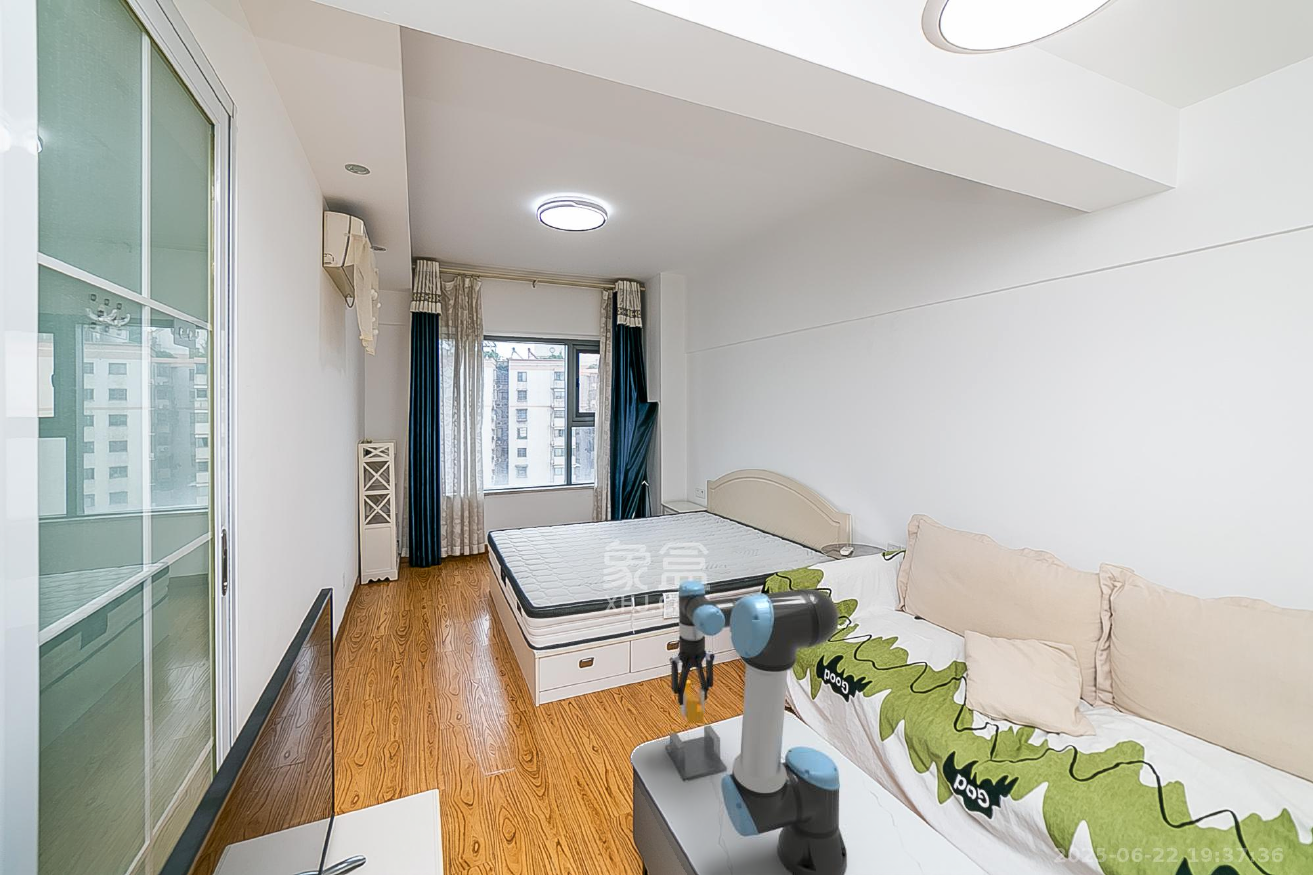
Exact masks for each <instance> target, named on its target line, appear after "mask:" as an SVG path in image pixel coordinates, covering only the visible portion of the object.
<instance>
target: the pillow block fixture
mask: <svg viewBox="0 0 1313 875" xmlns="http://www.w3.org/2000/svg"><path fill="white" fill-rule="evenodd" d="M703 727H704V728H703V732H704V733H703V736H700V737H695V738H691V739H687V740H683V741H682V739H681V738H680V737H679V735H678V733H677V732H673V733H669V744H665V746H664V749H665V750H666V753H667V754H668V756H669V757H670V760H671V761H672V763H673V764H674V767H675V768H676V769H677V771H678V773H679V775H680V777H681V778H682V780H683V782H687V781H692V780H695V779H699V778H703V777H707V776H712V775H716V774H720V773H724V772H727V771H728V770H727V769H728V767H727V765H726V764H725V763H724V762H723V759H721V737H720V736H719V735H718V733H717V732H716V731H715V729H714V728H713V726H711V724H710V725H709V724H708V725H705V726H703Z"/></svg>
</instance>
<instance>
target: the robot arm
mask: <svg viewBox="0 0 1313 875" xmlns="http://www.w3.org/2000/svg"><path fill="white" fill-rule="evenodd" d="M677 597H678V631H679V632H678V633H679V636H678V637H679V639H678V644H679V645H678V646H679V647H678V649H679V651H678V654H677V656H676V657H674V658H673V657H670V658H669V663H670V667H671V668H670V670H671V671H670V676H671V680H670V683H671V684H670V685H671V688H670V689H671V691H672V692H673V693H674V695H677V702H678V704H679V705H680V713H681V714H682V716H683V718H687V717H686V694H685V692H684V690H685V686H686V682H687V680H688V676H689V673H690V672H691V669H693V668H695V669H696V673H697V675H698V676H697V677H698V679H699V680H698V681H699V683H700V686H699V687H697V688H698V689H697V690H698V693H697V694H698V699H697V702H699V703H700V705H701V706H702V709H703V714H705V701H706V700H708V692H709V691H710V689H709V688H713V687H714V660H715V654H714V653H713V652H712V651H711V650H709V651H706V637H705V636H709V637H714V636H716V635H717V634H719V633H721V632H722V630H723V629H725V628H729V632H730V634H731V636H730V639H731V640H730V641H731V643H732V647H733V649H734V650H735V652H736V653H737V655H739V658H740V660H741V661H742V662H743V663H744V664H745V672H744V673H745V674H744V676H745V677H744V689H743V690H744V691H743V692H744V693H743V705H742V707H743V708H742V709H743V710H742V722H741V736H740V737H741V739H740V741H741V742H740V753H738V755H736V757H735V758H734V760H733V762H732V772H731V773H730V774H729V773H727V774H725V775H724V776H723V777H722V778H721V783H720V785H721V794H722V799H723V802H724V806H725V809H726V812H727V816H728V818H729V820H730V822H731V824H732V826H733V828H734V830H735V831H736V832H737V834H739V835H740V836H743V837H750V836H759V835H761V834H764V833H769V832H771V831H776V830H780V829H781V830H780V832H779V836H778V840H777V841H778V842H777V843H778V844H777V845H778V847H777V848H778V851H777V852H778V856H779V859H780V861H781V863H782V864H783V866H784V867H785V869H787V871H789V872H790V873H792V875H844V874H845V872H846V869H847V866H848V853H847V848H846V844H845V841H844V839H843V836H842V835H843V834H842V833H841V829H840V827H839V826H840V788H841V784H840V774H839V768H838V766H837V765H836V762H835V761H834V760H833V759H832V758H831V757H830V756H828V755H827V754H826V753H824V752H823V751H820V750H817V749H815V748H813V747H807V746H794V747H791V748H789V749H788V750H787V752H786V754H785V756H784V757H785V758H784V759H785V761H784V762H782V761H781V760H782V747H783V736H784V735H783V734H784V723H785V722H784V721H785V706H786V694H787V684H788V682H787V681H788V680H787V679H788V671H790V670H792V669H793V668H794V667H795V665H796V662H797V652H798V650H800V649H805V648H811V647H817V646H820V645H821V644H824V643H826V642H827V641H828V640H830V639H831V638H832V636H833V635H834V634H835V632H836V631H837V628H838V626H839V611H838V608H837V606H836V604H835V602H834V601H833V600H832V598H831V597H830V596H829V595H828V594H826V593H824V592H822V591H819V590H818V589H813V588H798V589H792V590H791V589H790V590H787V591H785V590H783V591H776V592H769V593H759V592H758V593H754V594H750V595H745V596H744V595H743V596H737V597H731V598H730V597H728V598H719V599H713V600H712V599H711V600H709V599H708V598H707V597H706V588H705V585H704V583H702V582H700V581H695V580H687V581H683V582H682V583H680V585H679V586H678V596H677ZM704 660H705V672H704V667H703V662H704ZM679 662H681V669H680V674H679V666H680V664H679Z"/></svg>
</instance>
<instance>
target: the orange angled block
mask: <svg viewBox="0 0 1313 875" xmlns="http://www.w3.org/2000/svg"><path fill="white" fill-rule="evenodd" d="M691 682H692V681H691V679H687V682H686V686H685V690H684V692H685V694H686V717H685V718H686V720H687V723H688V724H697V723H698V724H702V723H704V713H703V709H702V706H701V705H700V703H699V702H698V699H697V697H695V696H694V697H693V695H692V683H691Z"/></svg>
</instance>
